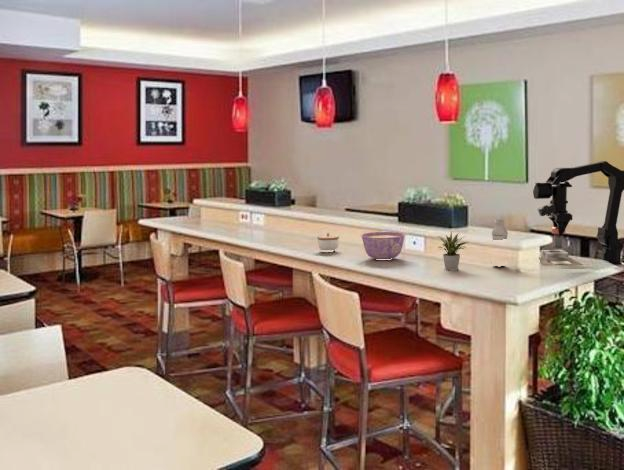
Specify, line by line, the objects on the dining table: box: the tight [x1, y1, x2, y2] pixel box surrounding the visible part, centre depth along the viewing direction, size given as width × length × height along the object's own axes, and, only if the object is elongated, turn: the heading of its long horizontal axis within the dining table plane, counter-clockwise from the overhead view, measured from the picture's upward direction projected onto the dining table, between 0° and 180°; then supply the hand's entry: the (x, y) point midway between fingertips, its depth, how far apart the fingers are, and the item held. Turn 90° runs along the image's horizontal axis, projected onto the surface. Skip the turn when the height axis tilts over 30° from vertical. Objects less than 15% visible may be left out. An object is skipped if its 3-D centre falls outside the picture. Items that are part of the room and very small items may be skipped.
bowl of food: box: [361, 231, 406, 260], centre depth 322 cm, size 20×20×12 cm
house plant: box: [437, 230, 469, 271], centre depth 292 cm, size 14×14×16 cm
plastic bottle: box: [491, 219, 508, 241], centre depth 294 cm, size 6×7×20 cm
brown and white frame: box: [539, 249, 584, 270], centre depth 297 cm, size 16×18×5 cm
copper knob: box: [551, 226, 567, 249], centre depth 294 cm, size 6×6×9 cm
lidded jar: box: [316, 232, 340, 251], centre depth 348 cm, size 11×11×9 cm
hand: (558, 235), depth 294 cm, fingers closed on copper knob, 6 cm apart
